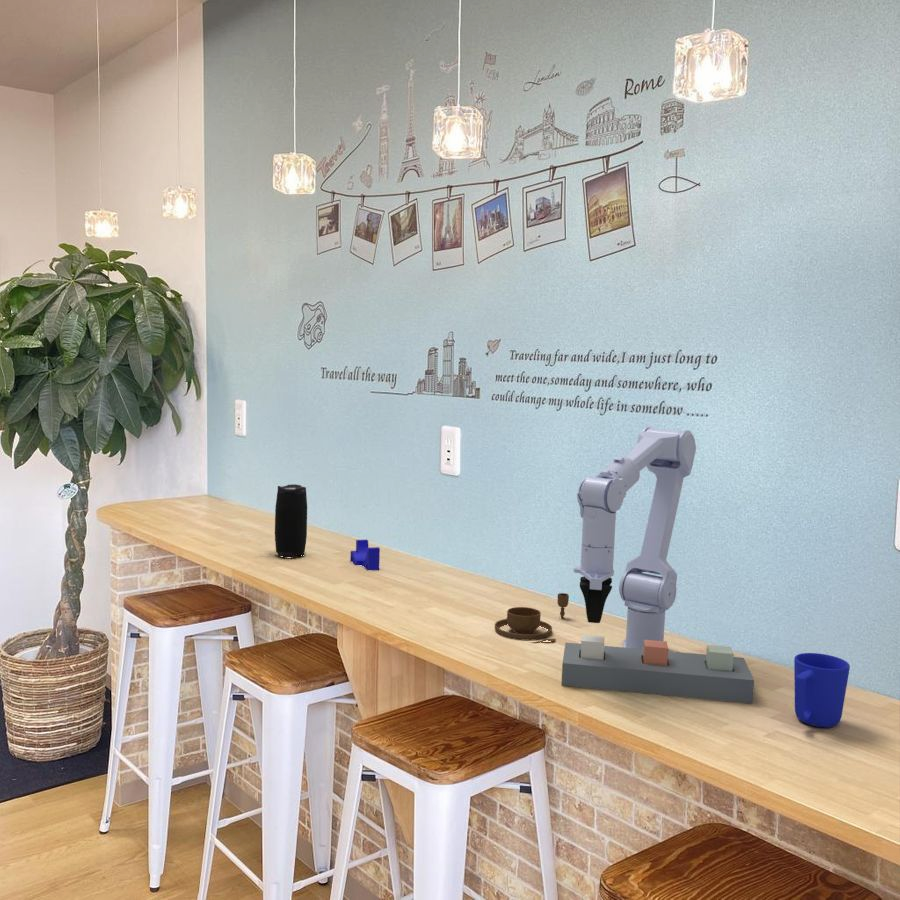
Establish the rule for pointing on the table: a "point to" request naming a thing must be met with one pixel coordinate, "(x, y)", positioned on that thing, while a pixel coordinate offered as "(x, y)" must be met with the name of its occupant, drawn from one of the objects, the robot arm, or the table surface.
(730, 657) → the sage button
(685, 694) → the button panel
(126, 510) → the table surface
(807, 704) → the mug
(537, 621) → the place setting
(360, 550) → the blue blocky piece
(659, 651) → the terracotta button
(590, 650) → the white cube
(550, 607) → the table surface
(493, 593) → the table surface
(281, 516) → the portable speaker
